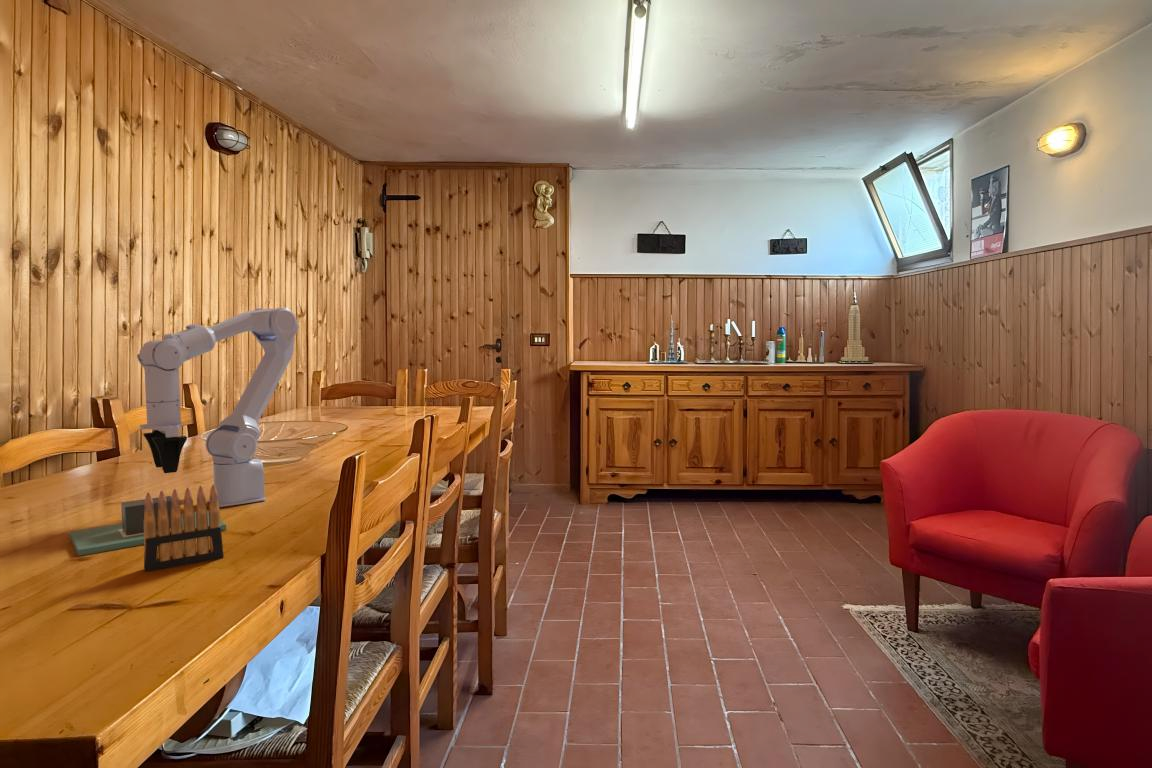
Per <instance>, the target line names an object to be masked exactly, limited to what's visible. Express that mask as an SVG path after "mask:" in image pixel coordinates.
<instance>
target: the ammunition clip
mask: <svg viewBox="0 0 1152 768" xmlns="http://www.w3.org/2000/svg"><path fill="white" fill-rule="evenodd" d="M165 496H166V494H165V492H164V491H163V490H160V491H159V495H158V497H159V499H158V516H157V529H156V518H155V514H154V505H153V500H152V497H153V496H152V495H151V493H150V492H149V491H148V492H147V493H146V495H145V511H144V546H143V547H144V548H143V549H144V553H143V554H144V555H143V557H144V558H143V559H144V561H143V565H144V566H143V569H144V572H146V573H149V572H153V571H154V572H155V571H159V570H160V571H161V570H164V569H170V568H177V567H181V566H186V565H193V564H197V563H203V562H208V561H216V560H219V559H223V558H224V548H223V546H224V545H223V535H222V531H221V522H220V520H221V510H220V507H219V504H218V495H217V490H216V487H215V485H214V484H212V485H211V487H210V491H209V499H210V501H209V507H208V509H207V501H206V494H205V491H204V488H203V487H202V486H201V485H200V486H199V487H198V490H197V495H196V511H195V510H194V499H193V500H192V498H193V495H192V492H191V489H190V487H186V489H185V492H184V496H183V499H184V505H183V512H182V509H181V505H180V496H179V493H178V491H177V489H176V488H174V489H173V491H172V494H171V497H172V498H171V515H170V524H169V515H168V510H167V502H166V497H165ZM207 510H208V511H209V526H208V513H207ZM194 512H196V528H195V513H194ZM182 514H183V524H182ZM170 529H171V532H170Z"/></svg>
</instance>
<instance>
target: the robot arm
mask: <svg viewBox="0 0 1152 768" xmlns="http://www.w3.org/2000/svg"><path fill="white" fill-rule="evenodd" d="M297 320H298V319H297V317H296V314H295V313H294V312H293V311H292V310H291V309H290V308H287V307H278V308H259V307H258V308H255V309H253V310H247V311H244V312H241V313H238V314H237V315H234V316H233V317H230V318H228V319H225V320H223V321H221V322H219V323H215V324H213V325H211V326H209V327H206V326H205V325H203V324H202V325H201V324H197V325H196V324H194V323H193V324H192V323H191V324H188V325H186V326H185V328H186V329H183V330H181V331H179V332H175V333H173V334H172V333H165V334H163V338H162V339H161V340H160V339H159V340H158V339H153V340H148V341H146V342H145V343H144V344H143V346H141V347H140V349H139V353H138V354H136V358H137V361H138V363H139V364H140V365H141V366H142V367H143V370H144V384H145V385H144V387H145V388H144V389H145V406H146V409H145V411H146V424H143V423H142V424H140V425H139V429H141V430H151V432H144V433H143V435H142V436H143V437H144V438H145V440H146V441H147V443H148V446H149V448H150V451H151V454H152V459H153V462H154V465H155V467H156V468H161V469H162V471H163V474H171V473H172V474H173V473H177V471H178V469H179V464H180V459H181V454H182V451H183V449H184V448H183V447H184V445H185V443H186V442H187V440H188V436H186V435H181V436H179V429H181V428H182V427H183V422H182V411H181V395H180V394H181V391H180V388H181V387H180V370H179V368H180V367H182V365H183V364H184V362H188V361H189V360H191V359H194V358H196V357H199V356H201V355H204V354H206V353H209V352H211V351H213V350H214V349H215V345H216V343H217V342H220V341H222V340H223V341H224V340H225V339H229V338H231V337H234V336H237V335H239V334H242V333H246V332H251V334H252V335H253V337H255V339H256V340H257V342H258V343H259V345H260V346H261V347H262V349H263V351H264V354H263V356H262V358H261V359H260V361H259V363H258V365H257V366H256V369H255V371H254V373H253V374H252V375H251V378H250V379H249V382H248V383H247V385H246V387H245V389H244V391H243V393H242V394H241V396H240V399H238V402H237V403H236V405H235V408H234V409H233V410H232V412H231V414H230V415H229V416H227V417H225V418H224V419H222V420H221V421H220V422H219V424H218V426H217V427H216V428H215V429H214V430H212V431H211V432H210V433H209V434H208V435H207V437H206V440H205V449H206V451H207V452H208V454H209V455H210V456H211V457H212V465H213V466H212V467H213V469H212V470H213V485H215V487H216V490H217V495H218V504H219V508H223V507H231V506H236V505H244V504H249V503H257V502H263V501H266V500H267V499H266V497H265V496H266V494H265V493H266V492H265V472H264V471H265V470H264V465H263V462H262V460H261V459H260V458H253V457H254V456H255V454H256V452H257V449H258V440H259V438H260V435H261V433H262V431H261V430H260V428H259V426H258V423H259V421H260V419H261V417H262V415H263V414H264V411H265V409H266V408H267V406H268V404H269V402H270V400H271V398H272V395H274V392H275V391H276V388H277V387H278V384H279V382H280V381H281V379H282V377H283V375H284V374H285V371H286V369H287V367H288V365H289V364H290V362H291V360H292V359H293V355H294V348H295V339H296V338H295V336H296V335H297V333H298V331H299V329H300V325H299V324H298V323H299V322H298V321H297ZM208 501H209V502H210V498H208Z"/></svg>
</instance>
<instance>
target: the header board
mask: <svg viewBox="0 0 1152 768" xmlns="http://www.w3.org/2000/svg"><path fill="white" fill-rule="evenodd" d="M194 513H195V528H196V511H194ZM207 513H208V526H209V509H207ZM181 514H182V524H183V513H181ZM220 522H221V532H224V531H227V524H226V523H225V522H223V521H222V520H221V519H220ZM170 532H171V529H170ZM69 538H70V541H71V543H72V545H73V547H74V550H75V551H76V554H77V555H78V557H81V556H87V555H92V554H98V553H103V552H108V551H109V552H111V551H114V550H120V549H125V548H131V547H136V546H142V545H144V533H139V534H133V535H126V534H125V533H124V531H123V529H122V522H121V523H115V524H109V525H103V526H101V525H100V526H95V527H90V528H88V527H87V528H84V529H83V528H82V529H77V530H70V531H69Z"/></svg>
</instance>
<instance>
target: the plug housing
mask: <svg viewBox="0 0 1152 768" xmlns="http://www.w3.org/2000/svg"><path fill="white" fill-rule="evenodd" d="M165 497H166V502H167V510H168V515H169V524H170V515H171V498H172V495H165ZM158 499H159V496H158V497H153V498H152V500H153V505H154V514H155V518H156V529H157V516H158ZM179 500H180V506H184V498H181V499H180V498H179ZM192 500H193V501H194V498H193V497H192ZM144 511H145V499H139V500H130V501H124V502H123V501H122V502H121V523H122V529H123V531H124V533H125V534H126V535H133V534H139V533H144Z"/></svg>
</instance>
